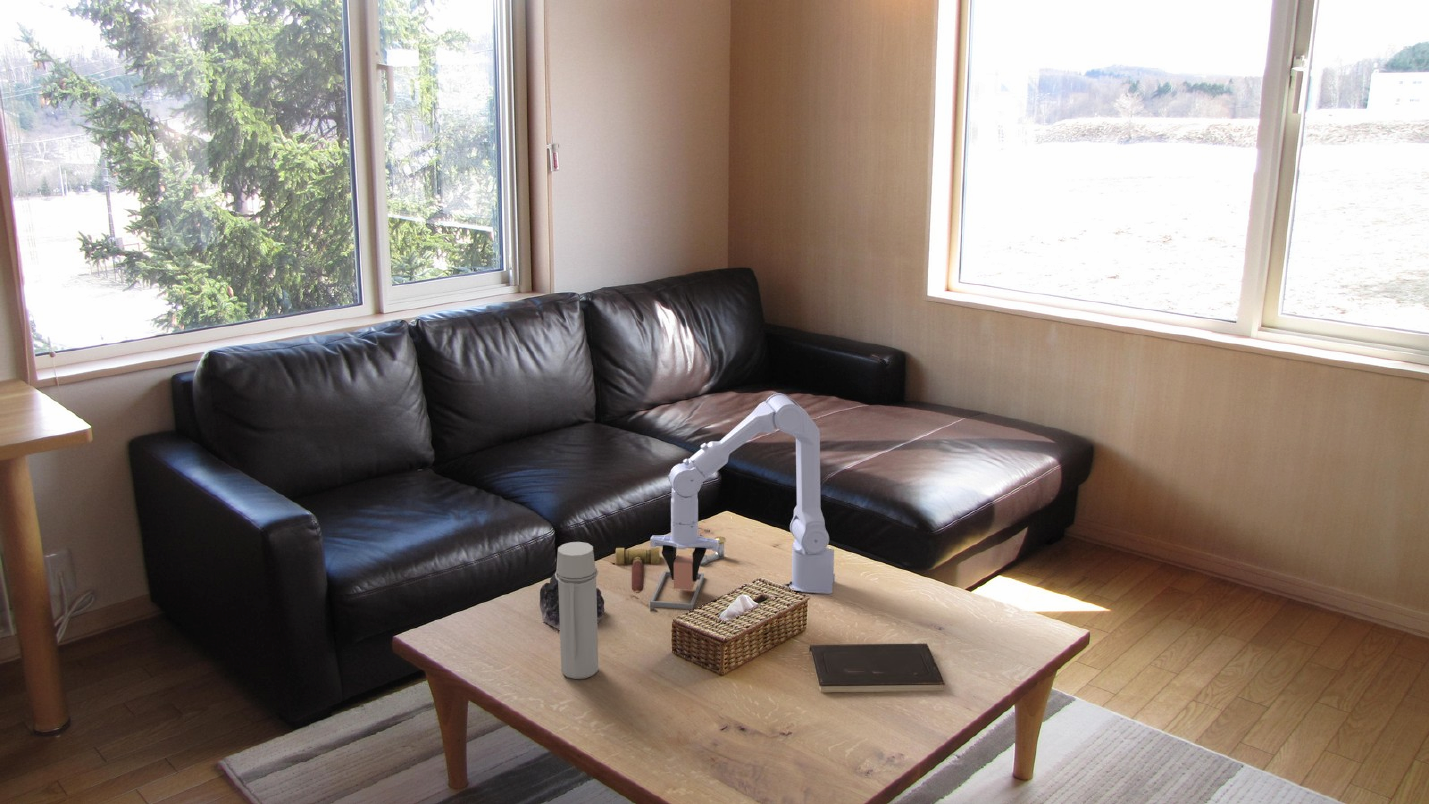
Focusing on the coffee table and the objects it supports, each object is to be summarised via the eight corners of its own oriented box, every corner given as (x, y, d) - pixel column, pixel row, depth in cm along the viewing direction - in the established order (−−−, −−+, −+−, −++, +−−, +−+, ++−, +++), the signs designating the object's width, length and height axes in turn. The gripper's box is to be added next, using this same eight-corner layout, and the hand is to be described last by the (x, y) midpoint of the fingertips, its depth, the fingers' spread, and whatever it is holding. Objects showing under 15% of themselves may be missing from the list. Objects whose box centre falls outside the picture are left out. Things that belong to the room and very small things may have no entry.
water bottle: (564, 661, 216) (559, 539, 209) (604, 663, 215) (601, 541, 208) (552, 685, 207) (547, 559, 200) (594, 687, 206) (590, 561, 199)
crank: (699, 566, 256) (699, 547, 255) (691, 562, 258) (691, 543, 257) (728, 557, 261) (728, 539, 260) (720, 553, 263) (720, 535, 262)
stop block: (695, 581, 244) (695, 556, 243) (692, 589, 240) (692, 563, 239) (677, 580, 245) (677, 555, 243) (673, 588, 241) (673, 562, 239)
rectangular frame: (704, 582, 250) (704, 573, 250) (692, 614, 235) (692, 604, 235) (664, 580, 252) (664, 570, 251) (650, 611, 236) (650, 601, 236)
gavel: (660, 587, 241) (613, 588, 240) (660, 606, 243) (614, 607, 242) (659, 543, 261) (616, 544, 260) (659, 561, 262) (616, 562, 262)
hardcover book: (944, 694, 205) (945, 683, 205) (819, 696, 205) (819, 684, 204) (925, 652, 221) (926, 641, 220) (809, 653, 220) (809, 643, 220)
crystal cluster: (606, 633, 229) (609, 586, 227) (539, 632, 226) (541, 585, 224) (601, 609, 242) (604, 565, 240) (538, 608, 239) (540, 563, 237)
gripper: (647, 524, 236) (647, 584, 239) (715, 528, 234) (715, 588, 237) (653, 512, 242) (654, 570, 246) (720, 516, 240) (719, 575, 244)
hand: (684, 578), depth 242 cm, fingers closed on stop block, 4 cm apart
